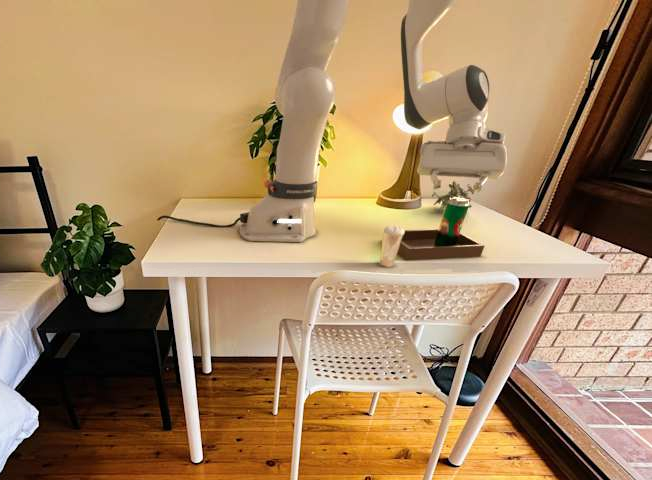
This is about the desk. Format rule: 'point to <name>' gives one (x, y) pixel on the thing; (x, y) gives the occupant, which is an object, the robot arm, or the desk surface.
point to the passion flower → (454, 194)
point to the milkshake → (390, 245)
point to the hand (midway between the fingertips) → (456, 189)
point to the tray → (424, 247)
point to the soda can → (452, 221)
